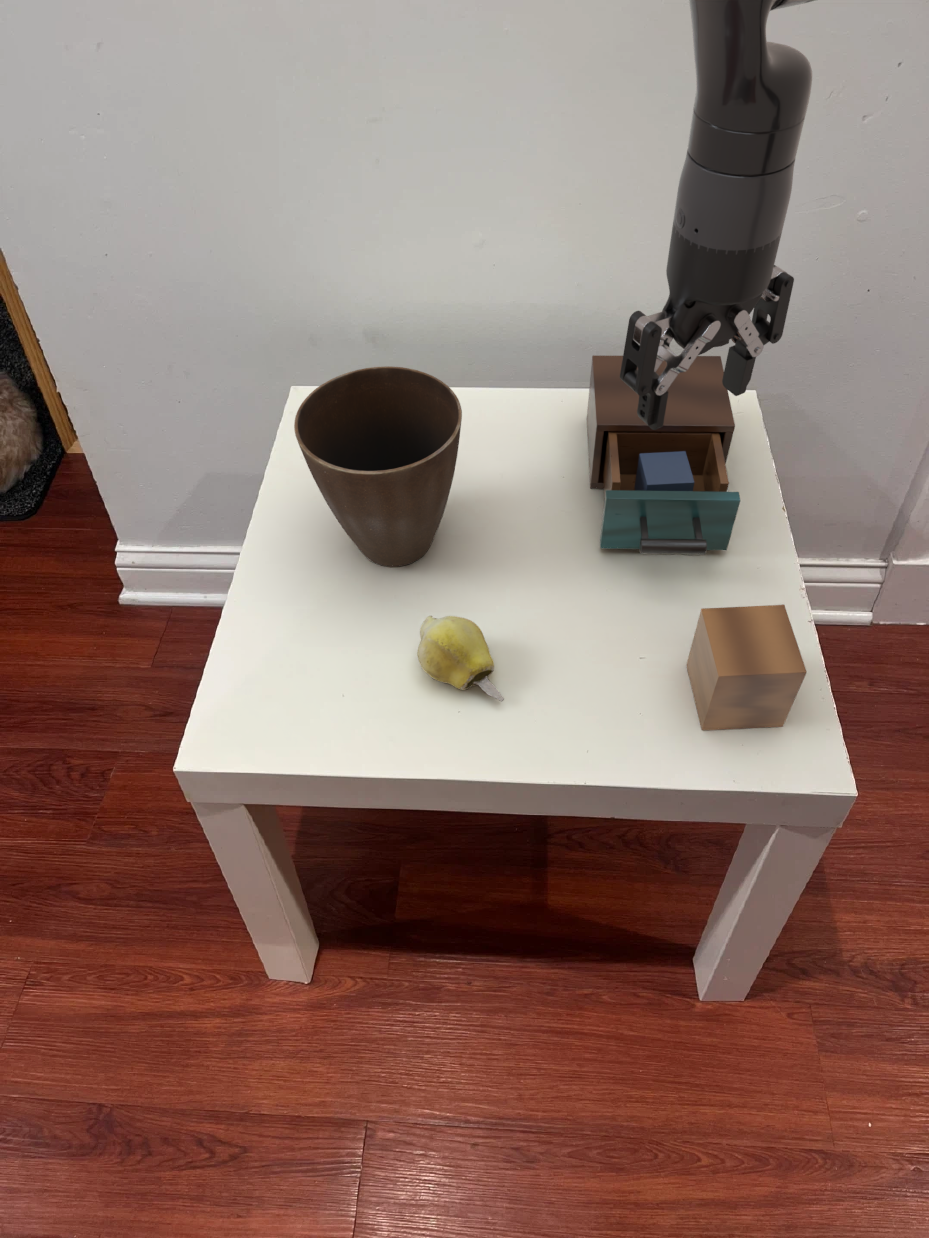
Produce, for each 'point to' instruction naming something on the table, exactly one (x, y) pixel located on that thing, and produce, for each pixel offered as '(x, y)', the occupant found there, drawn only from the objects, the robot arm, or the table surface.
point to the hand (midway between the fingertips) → (692, 406)
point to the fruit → (456, 653)
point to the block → (664, 472)
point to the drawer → (667, 496)
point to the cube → (744, 667)
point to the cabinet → (689, 406)
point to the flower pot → (383, 456)
